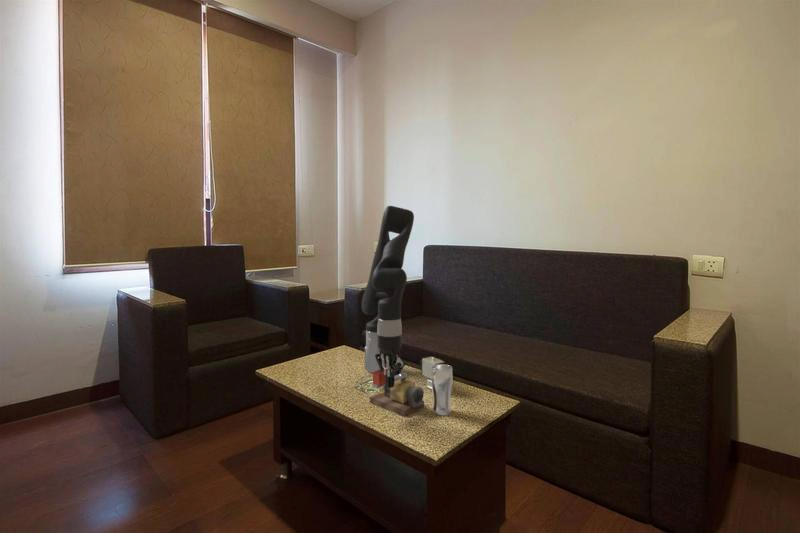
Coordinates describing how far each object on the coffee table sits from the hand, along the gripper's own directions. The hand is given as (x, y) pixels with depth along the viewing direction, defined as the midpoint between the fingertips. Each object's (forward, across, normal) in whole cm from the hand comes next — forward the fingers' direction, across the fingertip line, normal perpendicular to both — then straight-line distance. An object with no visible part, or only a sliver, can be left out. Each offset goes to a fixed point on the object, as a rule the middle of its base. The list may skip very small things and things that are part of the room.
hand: (389, 386), depth 133 cm
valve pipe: (+11, +7, -9) cm, 16 cm away
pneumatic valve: (+11, +10, -29) cm, 33 cm away
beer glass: (+11, -6, -17) cm, 21 cm away
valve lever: (+1, +5, -5) cm, 7 cm away
